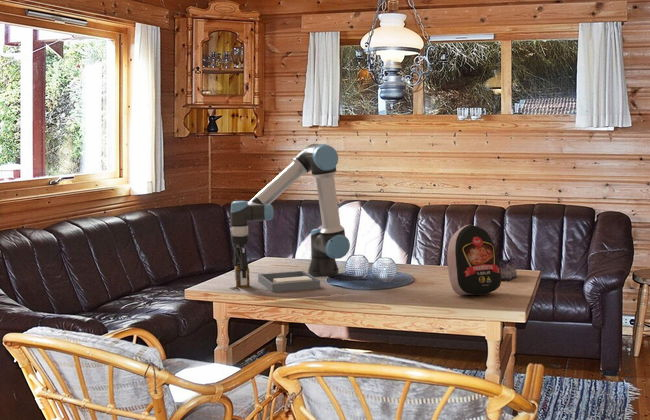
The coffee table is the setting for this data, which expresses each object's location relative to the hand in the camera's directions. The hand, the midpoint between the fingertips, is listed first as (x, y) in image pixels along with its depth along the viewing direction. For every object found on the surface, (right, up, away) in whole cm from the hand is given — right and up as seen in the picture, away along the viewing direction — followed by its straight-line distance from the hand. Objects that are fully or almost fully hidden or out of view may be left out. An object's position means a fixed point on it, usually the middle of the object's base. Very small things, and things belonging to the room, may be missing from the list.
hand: (240, 282), depth 400 cm
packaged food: (+102, -4, -20) cm, 104 cm away
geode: (+123, +1, +17) cm, 124 cm away
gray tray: (+22, -2, +2) cm, 22 cm away
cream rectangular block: (+24, -2, -5) cm, 24 cm away
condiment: (0, -3, 0) cm, 3 cm away
